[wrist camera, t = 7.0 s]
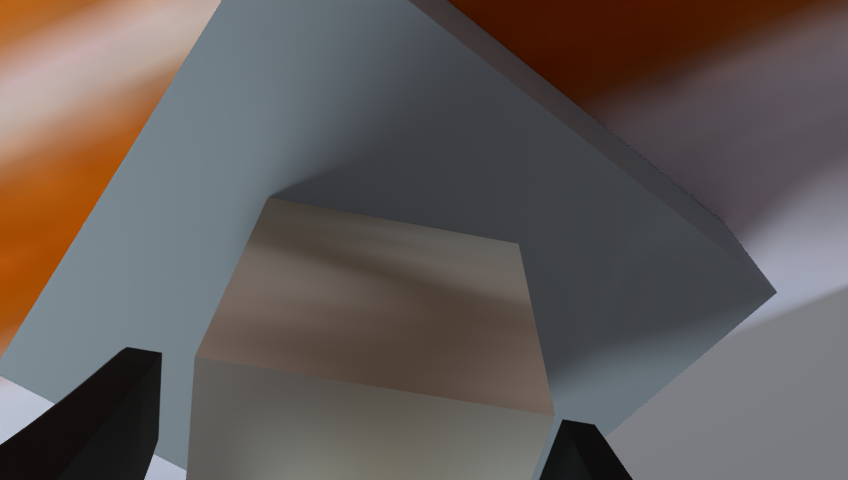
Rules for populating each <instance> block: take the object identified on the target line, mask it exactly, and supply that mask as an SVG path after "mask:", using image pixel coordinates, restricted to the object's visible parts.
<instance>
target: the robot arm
mask: <svg viewBox="0 0 848 480" xmlns="http://www.w3.org/2000/svg"><path fill="white" fill-rule="evenodd" d="M161 371H162V353H161V352H155V351H149V350H143V349H137V348H131V347H126V348H124V349H122V350H121V351H119V352H118V353H117V354H116V355H115V356H114V357H112V358H111V359H110V360H109V361H108V362H106V363H105V364H104V365H103V366H102V367H101V368H99V369H98V370H97V371H96V372H95V373H93V374H92V375H91V376H90V377H89V378H88V379H86V380H85V381H84V382H83V383H81V384H80V385H79V386H78V387H77V388H75V389H74V390H73V391H72V392H70V393H69V394H68V395H67V396H65V397H64V398H63V399H62V400H60V401H59V402H58V403H56V404H55V405H54V406H53V407H51V408H50V409H49V410H47V411H46V412H45V413H44V414H42V415H41V416H40V417H38V418H37V419H36V420H34V421H33V422H32V423H30V424H29V425H28V426H26V427H25V428H24V429H22V430H21V431H19V432H18V433H17V434H15V435H14V436H12V437H11V438H9V439H8V440H7V441H5V442H4V443H2V444H1V445H0V480H144V478H145V476H146V473H147V470H148V468H149V465H150V462H151V459H152V456H153V454H154V451H155V448H156V445H157V442H158V439H159V417H160V394H161ZM539 480H633V479H632V478H631V477H630V475H629V474H628V472H627V471H626V469H625V468H624V466H623V465H622V463H621V462H620V461H619V459H618V457H617V456H616V455H615V453H614V452H613V450H612V449H611V447H610V446H609V444H608V443H607V441H606V440H605V439H604V437H603V435H602V434H601V433H600V431H599V430H598V428H597V427H596V425H595V424H589V423H583V422H577V421H571V420H565V419H562V422H561V424H560V427H559V429H558V432H557V435H556V437H555V440H554V442H553V445H552V448H551V450H550V453H549V455H548V458H547V460H546V463H545V466H544V468H543V471H542V473H541V476H540V479H539Z"/></svg>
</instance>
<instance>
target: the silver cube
mask: <svg viewBox="0 0 848 480" xmlns="http://www.w3.org/2000/svg"><path fill="white" fill-rule="evenodd" d="M554 418H555V412H554V408H553V403H552V398H551V394H550V389H549V384H548V380H547V375H546V370H545V365H544V361H543V356H542V351H541V347H540V342H539V337H538V333H537V328H536V323H535V319H534V314H533V309H532V305H531V300H530V295H529V290H528V286H527V281H526V276H525V272H524V267H523V262H522V258H521V253H520V248H519V244H517V243H511V242H506V241H501V240H495V239H490V238H485V237H479V236H474V235H469V234H463V233H458V232H452V231H447V230H442V229H436V228H431V227H426V226H420V225H415V224H409V223H404V222H399V221H393V220H388V219H383V218H377V217H372V216H367V215H361V214H356V213H350V212H345V211H340V210H334V209H329V208H324V207H318V206H313V205H308V204H302V203H297V202H291V201H286V200H281V199H275V198H270V197H268V198H267V200H266V202H265V205H264V207H263V209H262V211H261V213H260V216H259V218H258V220H257V222H256V224H255V226H254V229H253V231H252V233H251V235H250V237H249V239H248V242H247V244H246V246H245V248H244V250H243V253H242V255H241V257H240V259H239V261H238V263H237V266H236V268H235V270H234V272H233V274H232V276H231V279H230V281H229V283H228V285H227V287H226V290H225V292H224V294H223V296H222V298H221V300H220V303H219V305H218V307H217V309H216V311H215V313H214V316H213V318H212V320H211V322H210V324H209V327H208V329H207V331H206V333H205V335H204V337H203V340H202V342H201V344H200V346H199V348H198V350H197V353H196V355H195V360H194V375H193V389H192V403H191V418H190V432H189V446H188V460H187V475H186V480H531V479H532V476H533V474H534V471H535V469H536V466H537V463H538V461H539V458H540V455H541V453H542V450H543V447H544V445H545V442H546V440H547V437H548V434H549V432H550V429H551V426H552V424H553V421H554Z"/></svg>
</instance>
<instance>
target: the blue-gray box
mask: <svg viewBox="0 0 848 480" xmlns="http://www.w3.org/2000/svg"><path fill="white" fill-rule="evenodd" d="M268 197H270V198H275V199H281V200H286V201H291V202H297V203H302V204H308V205H313V206H318V207H324V208H329V209H334V210H340V211H345V212H350V213H356V214H361V215H367V216H372V217H377V218H383V219H388V220H393V221H399V222H404V223H409V224H415V225H420V226H426V227H431V228H436V229H442V230H447V231H452V232H458V233H463V234H469V235H474V236H479V237H485V238H490V239H495V240H501V241H506V242H511V243H517V244H519V248H520V253H521V258H522V262H523V267H524V272H525V276H526V281H527V286H528V290H529V295H530V300H531V305H532V309H533V314H534V319H535V323H536V328H537V333H538V337H539V342H540V347H541V351H542V356H543V361H544V365H545V370H546V375H547V380H548V384H549V389H550V394H551V398H552V403H553V408H554V412H555V418H554V421H553V424H552V426H551V429H550V432H549V434H548V437H547V440H546V442H545V445H544V447H543V450H542V453H541V455H540V458H539V461H538V463H537V466H536V469H535V471H534V474H533V476H532V479H531V480H539V479H540V476H541V473H542V471H543V468H544V466H545V463H546V460H547V458H548V455H549V453H550V450H551V448H552V445H553V442H554V440H555V437H556V435H557V432H558V429H559V427H560V424H561V422H562V419H565V420H571V421H577V422H583V423H589V424H595V425H596V427H597V428H598V430H599V431H600V433H601V434H602V435H603V437H605V436H607V435H608V434H609V433H610V432H611V431H612V430H614V429H615V428H616V427H617V426H619V425H620V424H621V423H622V422H623V421H624V420H626V419H627V418H628V417H629V416H630V415H632V414H633V413H634V412H635V411H636V410H638V408H640V407H641V406H642V405H643V404H645V403H646V402H647V401H648V400H649V399H651V398H652V397H653V396H654V395H655V394H656V393H658V392H659V391H660V390H661V389H662V388H664V387H665V386H666V385H667V384H669V383H670V382H671V381H672V380H673V379H674V378H676V377H677V376H678V375H679V374H680V373H682V372H683V371H684V370H685V369H686V368H688V367H689V366H690V365H691V364H692V363H693V362H695V361H696V360H697V359H698V358H699V357H701V356H702V355H703V354H704V353H705V352H707V351H708V350H709V349H710V348H711V347H713V346H714V345H715V344H716V343H717V342H719V341H720V340H721V339H722V338H723V337H724V336H726V335H727V334H728V333H729V332H730V331H732V330H733V329H734V328H735V327H736V326H738V325H739V324H740V323H741V322H742V321H744V320H745V319H746V318H747V317H748V316H749V315H751V314H752V313H753V312H754V311H755V310H757V309H758V308H759V307H760V306H761V305H763V304H764V303H765V302H766V301H767V300H769V299H770V298H771V297H772V296H773V295H774V294H776V293H777V292H776V290H775V289H774V288H773V286H772V285H771V284H770V282H769V281H768V280H767V278H766V277H765V276H764V274H763V273H762V272H761V271H760V269H759V268H758V267H757V265H756V264H755V263H754V261H753V260H752V259H751V257H750V256H749V255H748V253H747V252H746V251H745V250H744V248H743V247H742V246H741V244H740V243H739V242H738V240H737V239H736V238H735V236H734V235H733V234H732V232H731V231H730V230H729V229H728V227H727V226H726V225H725V224H724V223H723V222H721V221H720V220H719V219H718V218H716V217H715V216H714V215H713V214H711V213H710V212H709V211H708V210H706V209H705V208H704V207H703V206H702V205H700V204H699V203H698V202H697V201H695V200H694V199H693V198H692V197H690V196H689V195H688V194H687V193H685V192H684V191H683V190H682V189H680V188H679V187H678V186H677V185H675V184H674V183H673V182H672V181H671V180H669V179H668V178H667V177H666V176H664V175H663V174H662V173H661V172H659V171H658V170H657V169H656V168H654V167H653V166H652V165H651V164H649V163H648V162H647V161H646V160H644V159H643V158H642V157H641V156H640V155H638V154H637V153H636V152H635V151H633V150H632V149H631V148H630V147H628V146H627V145H626V144H625V143H623V142H622V141H621V140H620V139H618V138H617V137H616V136H615V135H613V134H612V133H611V132H610V131H609V130H607V129H606V128H605V127H604V126H602V125H601V124H600V123H599V122H597V121H596V120H595V119H594V118H592V117H591V116H590V115H589V114H587V113H586V112H585V111H584V110H582V109H581V108H580V107H579V106H578V105H576V104H575V103H574V102H573V101H571V100H570V99H569V98H568V97H566V96H565V95H564V94H563V93H561V92H560V91H559V90H558V89H556V88H555V87H554V86H553V85H551V84H550V83H549V82H548V81H547V80H545V79H544V78H543V77H542V76H540V75H539V74H538V73H537V72H535V71H534V70H533V69H532V68H530V67H529V66H528V65H527V64H525V63H524V62H523V61H522V60H521V59H519V58H518V57H517V56H516V55H514V54H513V53H512V52H511V51H509V50H508V49H507V48H506V47H504V46H503V45H502V44H501V43H499V42H498V41H497V40H496V39H494V38H493V37H492V36H491V35H490V34H488V33H487V32H486V31H485V30H483V29H482V28H481V27H480V26H478V25H477V24H476V23H475V22H473V21H472V20H471V19H470V18H468V17H467V16H466V15H465V14H463V13H462V12H461V11H460V10H459V9H457V8H456V7H455V6H454V5H452V4H451V3H450V2H449V1H447V0H222V1H221V3H220V4H219V6H218V8H217V9H216V11H215V12H214V14H213V16H212V17H211V19H210V20H209V22H208V24H207V25H206V27H205V29H204V30H203V32H202V33H201V35H200V37H199V38H198V40H197V42H196V43H195V45H194V46H193V48H192V50H191V51H190V53H189V55H188V56H187V58H186V59H185V61H184V63H183V64H182V66H181V67H180V69H179V71H178V72H177V74H176V76H175V77H174V79H173V80H172V82H171V84H170V85H169V87H168V89H167V90H166V92H165V93H164V95H163V97H162V98H161V100H160V102H159V103H158V105H157V106H156V108H155V110H154V111H153V113H152V114H151V116H150V118H149V119H148V121H147V123H146V124H145V126H144V127H143V129H142V131H141V132H140V134H139V136H138V137H137V139H136V140H135V142H134V144H133V145H132V147H131V148H130V150H129V152H128V153H127V155H126V157H125V158H124V160H123V161H122V163H121V165H120V166H119V168H118V170H117V171H116V173H115V174H114V176H113V178H112V179H111V181H110V183H109V184H108V186H107V187H106V189H105V191H104V192H103V194H102V195H101V197H100V199H99V200H98V202H97V204H96V205H95V207H94V208H93V210H92V212H91V213H90V215H89V217H88V218H87V220H86V221H85V223H84V225H83V226H82V228H81V229H80V231H79V233H78V234H77V236H76V238H75V239H74V241H73V242H72V244H71V246H70V247H69V249H68V251H67V252H66V254H65V255H64V257H63V259H62V260H61V262H60V264H59V265H58V267H57V268H56V270H55V272H54V273H53V275H52V276H51V278H50V280H49V281H48V283H47V285H46V286H45V288H44V289H43V291H42V293H41V294H40V296H39V298H38V299H37V301H36V302H35V304H34V306H33V307H32V309H31V311H30V312H29V314H28V315H27V317H26V319H25V320H24V322H23V323H22V325H21V327H20V328H19V330H18V332H17V333H16V335H15V336H14V338H13V340H12V341H11V343H10V345H9V346H8V348H7V349H6V351H5V353H4V354H3V356H2V357H1V359H0V376H2V377H4V378H6V379H8V380H10V381H12V382H14V383H16V384H18V385H20V386H22V387H24V388H26V389H27V390H29V391H31V392H33V393H35V394H37V395H39V396H41V397H43V398H45V399H47V400H49V401H51V402H53V403H55V404H56V403H58V402H59V401H60V400H62V399H63V398H64V397H65V396H67V395H68V394H69V393H70V392H72V391H73V390H74V389H75V388H77V387H78V386H79V385H80V384H81V383H83V382H84V381H85V380H86V379H88V378H89V377H90V376H91V375H92V374H93V373H95V372H96V371H97V370H98V369H99V368H101V367H102V366H103V365H104V364H105V363H106V362H108V361H109V360H110V359H111V358H112V357H114V356H115V355H116V354H117V353H118V352H119V351H121V350H122V349H124V348H126V347H131V348H137V349H143V350H149V351H155V352H161V353H162V371H161V394H160V417H159V439H158V442H157V445H156V448H155V451H154V454H155V455H157V456H159V457H161V458H163V459H165V460H167V461H169V462H171V463H173V464H174V465H176V466H178V467H180V468H182V469H184V470H186V471H187V460H188V446H189V432H190V418H191V403H192V389H193V375H194V360H195V355H196V353H197V350H198V348H199V346H200V344H201V342H202V340H203V337H204V335H205V333H206V331H207V329H208V327H209V324H210V322H211V320H212V318H213V316H214V313H215V311H216V309H217V307H218V305H219V303H220V300H221V298H222V296H223V294H224V292H225V290H226V287H227V285H228V283H229V281H230V279H231V276H232V274H233V272H234V270H235V268H236V266H237V263H238V261H239V259H240V257H241V255H242V253H243V250H244V248H245V246H246V244H247V242H248V239H249V237H250V235H251V233H252V231H253V229H254V226H255V224H256V222H257V220H258V218H259V216H260V213H261V211H262V209H263V207H264V205H265V202H266V200H267V198H268Z"/></svg>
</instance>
